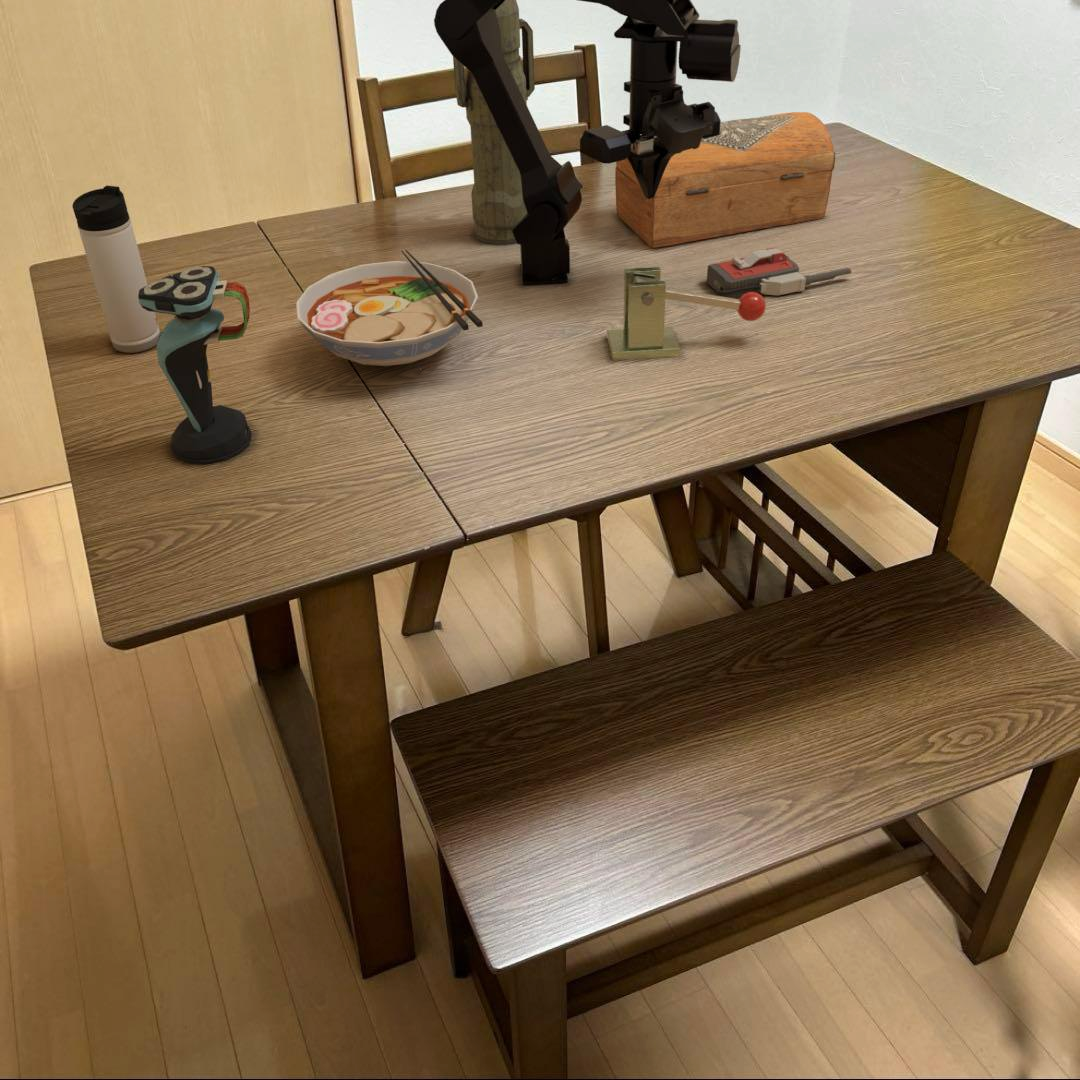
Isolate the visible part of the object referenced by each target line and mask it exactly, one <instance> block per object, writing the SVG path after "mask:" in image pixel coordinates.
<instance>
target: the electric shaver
mask: <svg viewBox="0 0 1080 1080" xmlns="http://www.w3.org/2000/svg"><path fill="white" fill-rule="evenodd" d="M226 297H233V298H234V297H235V298H236V299H237V300H238V301H240V303H241V308H242V314H243V315H242V316H243V322H242V323H240V324H238V325H227V326H226V325H225V326H224V325H223V324H222V323H223V322H224V321H225V316H224V313H223V312H222V310H221V309H217V308H212V307H213V303H214V301H217V300H225V298H226ZM138 300H139V303H140V305H141V306H142V308H144V309H146V310H147V311H151V312H155V313H159V314H167V315H173V316H174V318H173V319H171V320H170V321H168V322H167V323H166V325H165V326H164V328H163V329H162V331H160V336H159V338H158V341H157V345H156V350H157V351H156V352H157V363H158V366H159V367H160V369H161V370H162V372H163V374H164V376H165V377H166V379H167V381H168V383H169V384H170V387H171V388H172V389H173V392H174V393H175V394H176V397H177V399H178V401H179V402H180V404H181V406H182V408H183V411H184V412H185V414H186V417H185V418H184V419H183V420H181V422H180V423H179V424H178V425H177V427H176V428H175V429H174V431H173V432H172V434H171V444H170V449H171V453H172V454H173V455H174V457H176V459H178V460H179V461H182V462H185V463H188V464H192V465H209V464H214V463H220V462H225V461H228V460H230V459H231V458H233V457H236V456H238V455H240V454H242V452H244V451H245V450H246V449H247V448H248V447H249V446H250V444H251V440H252V436H253V433H252V431H251V428H250V426H248V422H247V418H246V415H245V414H244V413H243V412H242V411H241V410H239V409H236V408H232V407H228V406H225V405H221V404H219V405H214V404H213V403H214V402H213V386H212V379H211V373H210V367H209V362H208V357H207V349H208V345H216V344H220V341H233V340H238V339H240V338H243V336H244V334H245V332H246V331H247V330H248V329H247V328H248V323H249V320H250V314H251V313H250V312H251V307H250V298H249V294H248V291H247V288H246V286H245V285H243V284H241V283H238V282H237V281H231V282H230V281H229V282H228V280H226V279H225V280H220V275H219V271H217V270H216V268H215V267H214V266H212V265H211V266H209V265H201V266H196V267H191V268H187V269H185V270H183V271H180V272H176V273H173V274H169V275H166V276H165V277H162V278H160V279H157V280H154V281H152V282H151V283H149V284H148V285H147V286H145V287H143V288H141V289H140V290H139V294H138Z"/></svg>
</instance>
